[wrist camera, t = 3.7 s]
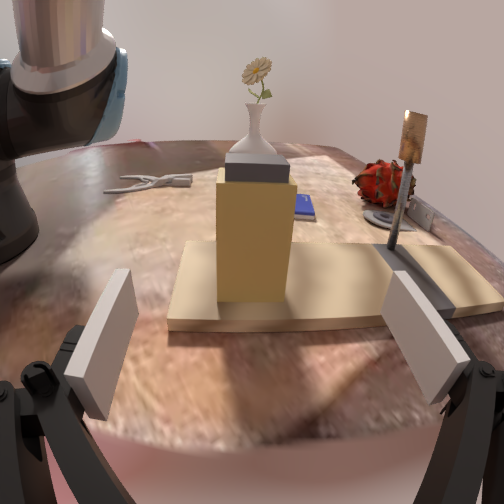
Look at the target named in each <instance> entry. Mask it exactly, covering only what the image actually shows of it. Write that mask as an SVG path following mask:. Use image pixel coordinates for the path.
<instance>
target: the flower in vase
mask: <svg viewBox="0 0 504 504" xmlns="http://www.w3.org/2000/svg"><path fill="white" fill-rule="evenodd" d="M271 63H272V61H270V60H269V59H267V60H266V57H265V58H264V57H262V58H261V59H260V60H259V59H258V58H256V59H255V62H254V61H252V62H251V65H250V64H248V65H247V66H246V67H247V69H245V70H244V73H243V74H242V77H243V78H244V79H242V82H244V83H245V84H247V85H250V84H251V85H253V84H254V83H255V82H256V83H258V82H259V81H260V80H261V82H262V87H263V90H262V93H261V95H260V97H259V96H258V95H256V94H255V93H253V92H252V91H251V90H250V89H248V90H249V92H250V93H251V94H253V95H255V96H256V97H257V98H259V99H258V101H257V103H245V104H246V106H247V108H248V110H249V115H250V128H249V132H248V134H247V135H246V136H245V137H244V138H243V139H242V140H240V141H239V142H238V143H236V144H235V145H234V146H233V147H232V148H231V149H230V151H229V153H247V154H272V155H277V153H276V150H275V149H274V148H273V147H272V146H271V145H270V144H269V143H268V142H267V141H266V140H265V139H264V138H263V137H262V136H261V134H260V131H259V123H260V122H259V121H260V116H261V113H262V110H263V108H264V107H265V106H266V104H261V103H259V100H260V98H261V96H262V99H265V98H270V97H272V95H271V92H270V90H269V89H268V90H265V91H264V84H263V81H262V80H263V78H264V76H266V75H267V73H268V72H269V71H270V70H271V68H270V67H271Z"/></svg>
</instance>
